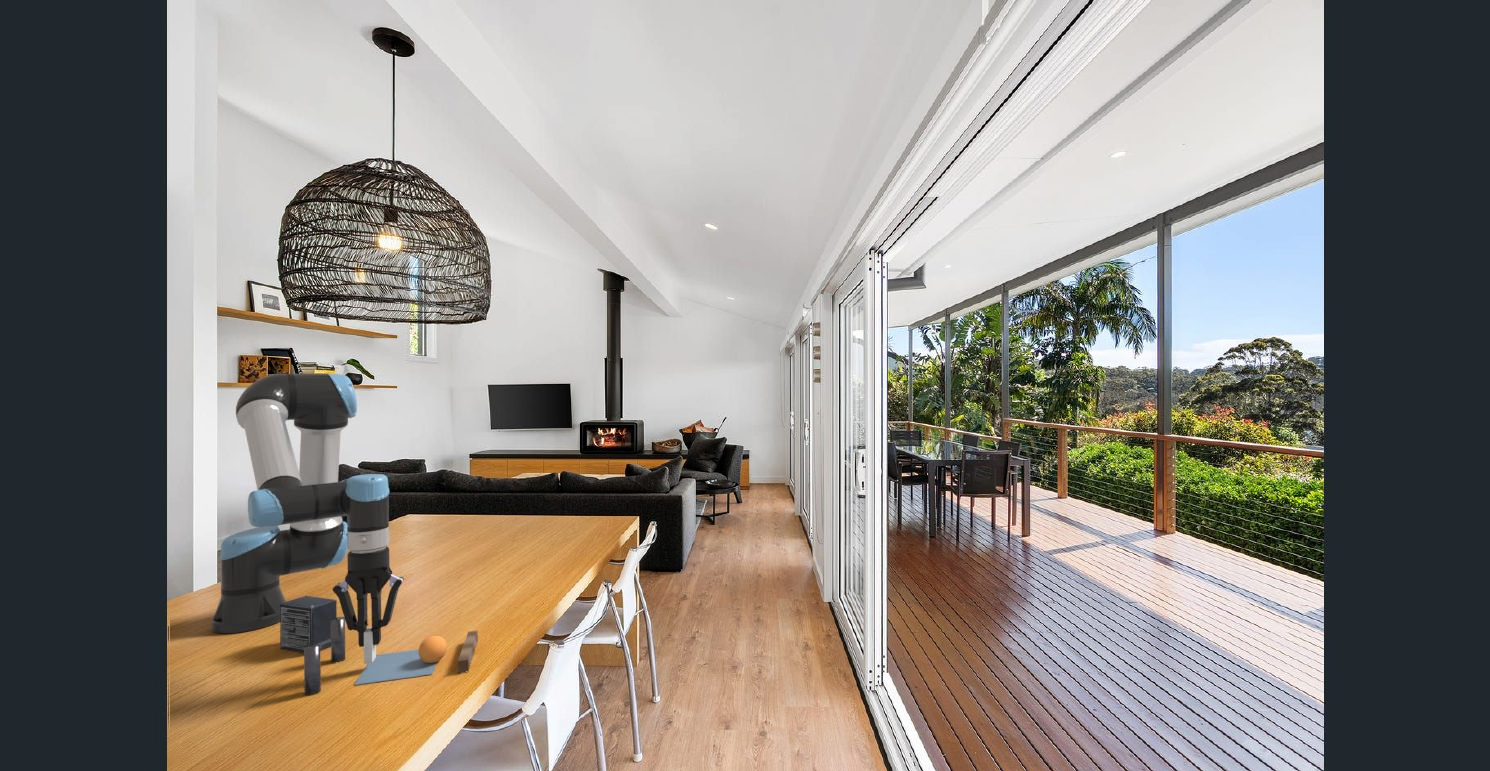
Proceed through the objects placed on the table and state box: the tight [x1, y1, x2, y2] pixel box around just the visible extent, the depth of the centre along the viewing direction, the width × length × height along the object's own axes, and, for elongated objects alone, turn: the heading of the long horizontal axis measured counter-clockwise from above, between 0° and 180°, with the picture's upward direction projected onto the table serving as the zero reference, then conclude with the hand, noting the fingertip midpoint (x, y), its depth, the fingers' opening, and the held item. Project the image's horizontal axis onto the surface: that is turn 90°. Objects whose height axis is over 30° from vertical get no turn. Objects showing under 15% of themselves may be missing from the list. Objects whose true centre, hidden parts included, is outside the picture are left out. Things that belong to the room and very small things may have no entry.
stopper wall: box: [457, 630, 479, 674], centre depth 133 cm, size 16×2×2 cm, turn 17°
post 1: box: [303, 643, 322, 697], centre depth 118 cm, size 3×3×9 cm
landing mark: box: [354, 649, 439, 687], centre depth 130 cm, size 14×14×1 cm
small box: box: [279, 595, 338, 654], centre depth 140 cm, size 11×6×10 cm, turn 71°
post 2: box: [330, 616, 346, 664], centre depth 132 cm, size 3×3×9 cm
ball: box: [418, 635, 448, 663], centre depth 131 cm, size 6×6×6 cm
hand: (370, 660), depth 128 cm, fingers closed
